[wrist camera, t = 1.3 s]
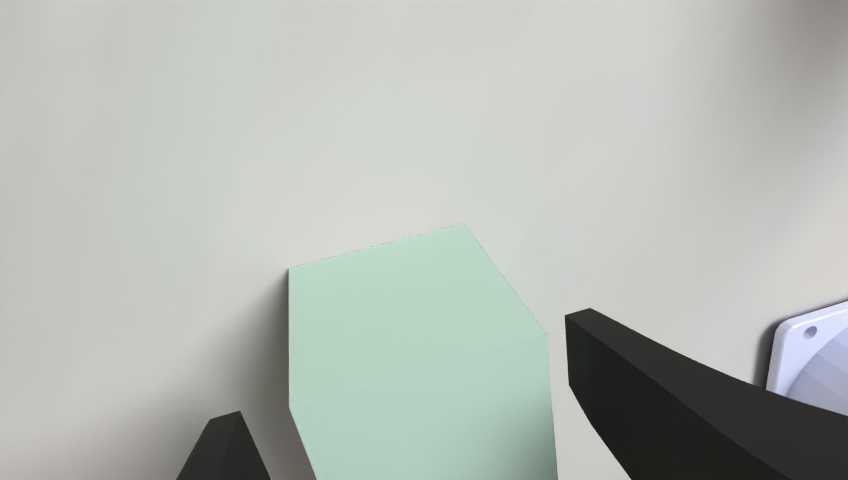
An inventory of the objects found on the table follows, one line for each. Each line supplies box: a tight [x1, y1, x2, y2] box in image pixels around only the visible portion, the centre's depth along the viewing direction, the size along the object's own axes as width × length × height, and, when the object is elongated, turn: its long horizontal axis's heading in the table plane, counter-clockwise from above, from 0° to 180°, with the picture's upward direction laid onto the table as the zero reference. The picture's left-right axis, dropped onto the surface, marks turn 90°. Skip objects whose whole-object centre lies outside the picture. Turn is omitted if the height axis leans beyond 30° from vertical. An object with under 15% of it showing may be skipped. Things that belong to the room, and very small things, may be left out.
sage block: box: [289, 223, 558, 480], centre depth 12 cm, size 4×4×5 cm
